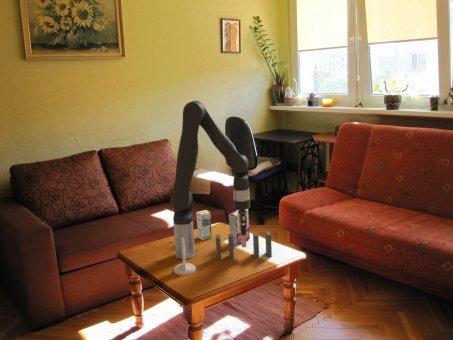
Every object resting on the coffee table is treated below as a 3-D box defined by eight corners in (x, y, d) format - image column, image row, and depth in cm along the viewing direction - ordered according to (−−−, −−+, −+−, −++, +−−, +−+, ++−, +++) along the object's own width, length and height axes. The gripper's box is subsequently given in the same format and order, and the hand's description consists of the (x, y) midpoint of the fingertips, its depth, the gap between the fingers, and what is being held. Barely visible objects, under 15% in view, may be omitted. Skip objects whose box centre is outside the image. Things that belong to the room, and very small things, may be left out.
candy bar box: (242, 237, 251) (241, 207, 247) (250, 239, 248) (249, 209, 244) (229, 244, 242) (228, 213, 239) (237, 246, 239) (236, 215, 236)
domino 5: (267, 256, 225) (266, 235, 222) (265, 252, 230) (265, 231, 227) (271, 256, 225) (271, 234, 222) (270, 252, 230) (269, 231, 227)
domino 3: (242, 247, 223) (241, 225, 220) (241, 243, 228) (240, 221, 225) (246, 247, 223) (245, 225, 221) (245, 243, 228) (244, 221, 225)
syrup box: (202, 240, 249) (200, 214, 246) (197, 237, 254) (196, 211, 251) (212, 238, 252) (210, 212, 248) (207, 235, 257) (205, 209, 253)
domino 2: (229, 259, 224) (228, 237, 221) (228, 255, 229) (227, 233, 226) (233, 259, 224) (233, 237, 221) (233, 255, 229) (232, 233, 226)
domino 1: (217, 260, 223) (215, 238, 221) (216, 256, 228) (215, 234, 226) (221, 260, 224) (220, 238, 221) (220, 255, 228) (219, 234, 226)
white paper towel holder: (173, 276, 209) (171, 244, 206) (174, 266, 219) (172, 236, 215) (195, 274, 210) (193, 242, 206) (195, 265, 219) (193, 234, 216)
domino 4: (254, 257, 224) (254, 235, 222) (253, 253, 229) (252, 232, 227) (259, 257, 225) (258, 235, 222) (257, 253, 229) (257, 231, 227)
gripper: (232, 194, 227) (233, 228, 231) (234, 203, 213) (236, 238, 217) (247, 193, 227) (249, 227, 231) (251, 202, 213) (252, 237, 217)
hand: (243, 232), depth 224 cm, fingers closed on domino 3, 5 cm apart
